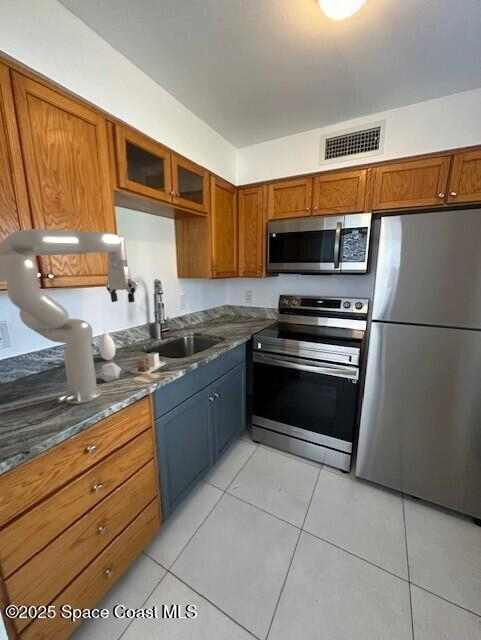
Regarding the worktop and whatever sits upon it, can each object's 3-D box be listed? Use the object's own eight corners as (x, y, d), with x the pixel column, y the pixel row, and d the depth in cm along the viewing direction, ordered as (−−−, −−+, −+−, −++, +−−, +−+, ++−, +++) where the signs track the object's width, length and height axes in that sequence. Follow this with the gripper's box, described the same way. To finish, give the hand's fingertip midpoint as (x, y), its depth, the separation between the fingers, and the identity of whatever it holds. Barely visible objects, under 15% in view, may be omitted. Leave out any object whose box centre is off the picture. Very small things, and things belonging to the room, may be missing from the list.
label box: (154, 366, 137) (153, 355, 135) (148, 365, 138) (147, 354, 137) (159, 363, 140) (158, 352, 139) (153, 363, 141) (152, 352, 140)
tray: (147, 375, 126) (147, 373, 126) (130, 373, 130) (130, 371, 129) (166, 364, 141) (166, 362, 141) (150, 362, 144) (150, 360, 144)
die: (121, 383, 120) (125, 362, 124) (102, 379, 114) (107, 358, 118) (112, 385, 125) (117, 365, 129) (93, 382, 119) (99, 361, 123)
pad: (148, 383, 117) (148, 382, 117) (132, 381, 120) (131, 380, 120) (160, 375, 126) (160, 374, 126) (144, 373, 129) (144, 372, 128)
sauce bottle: (118, 359, 150) (115, 328, 146) (104, 363, 144) (100, 331, 141) (112, 356, 155) (109, 326, 152) (98, 360, 149) (94, 329, 146)
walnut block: (144, 372, 129) (143, 360, 128) (137, 371, 130) (136, 359, 129) (149, 369, 133) (148, 358, 132) (143, 368, 134) (142, 357, 133)
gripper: (96, 264, 119) (102, 302, 123) (128, 264, 114) (132, 303, 117) (109, 264, 126) (114, 300, 130) (139, 263, 121) (143, 301, 124)
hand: (123, 301), depth 123 cm, fingers open, 9 cm apart
